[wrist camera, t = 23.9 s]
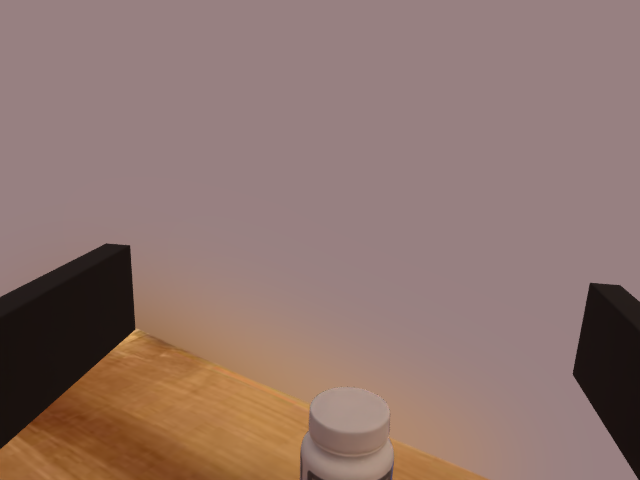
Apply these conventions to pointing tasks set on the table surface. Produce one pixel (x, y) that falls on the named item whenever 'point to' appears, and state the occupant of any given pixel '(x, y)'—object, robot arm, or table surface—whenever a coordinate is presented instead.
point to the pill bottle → (347, 437)
